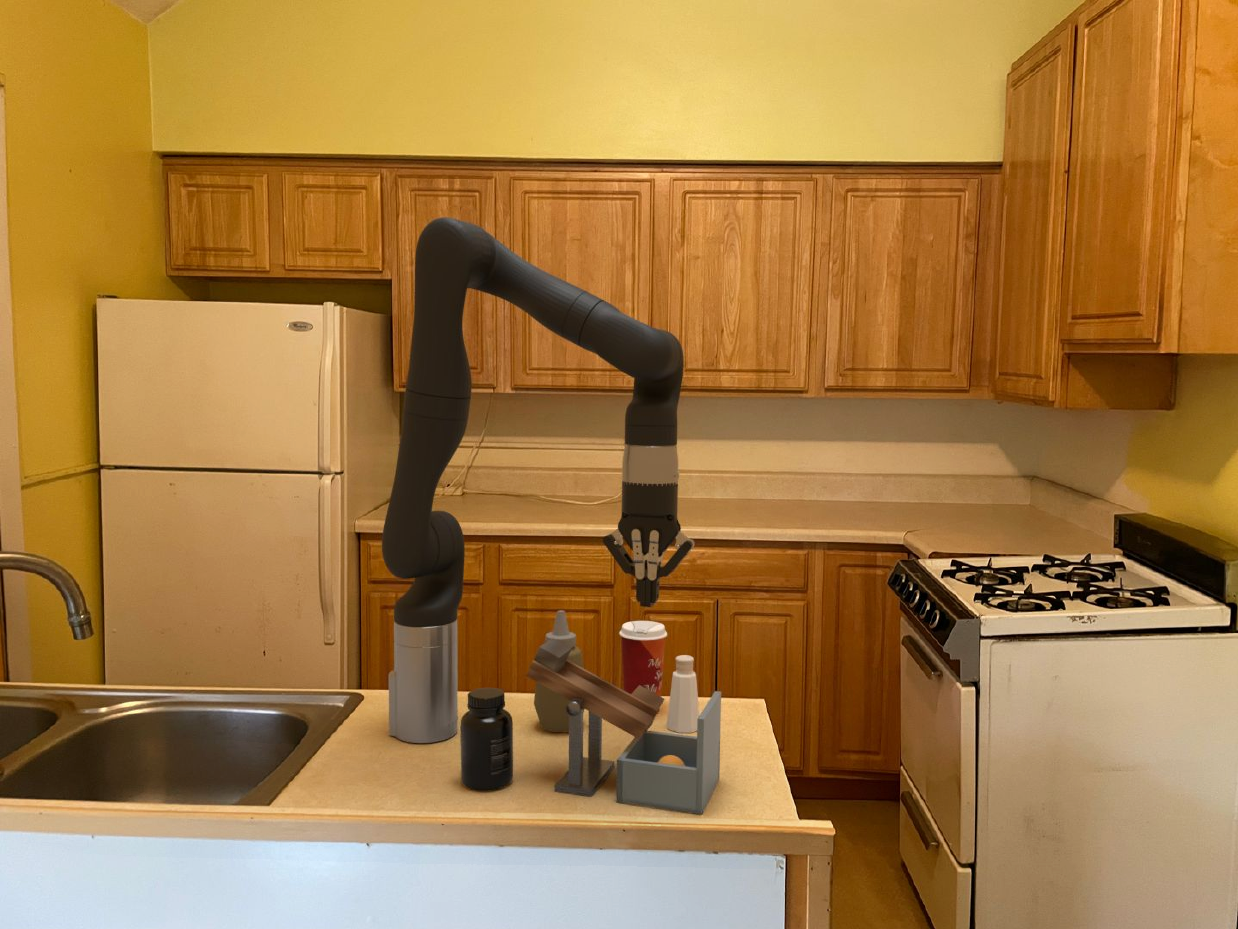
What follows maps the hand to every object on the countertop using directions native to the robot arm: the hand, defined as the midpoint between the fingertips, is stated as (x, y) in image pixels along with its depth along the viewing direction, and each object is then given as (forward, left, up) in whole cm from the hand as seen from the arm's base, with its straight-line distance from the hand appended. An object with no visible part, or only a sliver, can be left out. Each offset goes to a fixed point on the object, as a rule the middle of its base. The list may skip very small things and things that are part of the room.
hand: (647, 605), depth 128 cm
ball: (+5, -6, -20) cm, 22 cm away
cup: (+5, -6, -23) cm, 24 cm away
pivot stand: (-6, -6, -23) cm, 24 cm away
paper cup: (-6, +22, -23) cm, 32 cm away
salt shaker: (+2, +17, -23) cm, 28 cm away
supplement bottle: (-18, -11, -23) cm, 31 cm away
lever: (-6, -3, -12) cm, 14 cm away
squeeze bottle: (-16, +11, -23) cm, 30 cm away
